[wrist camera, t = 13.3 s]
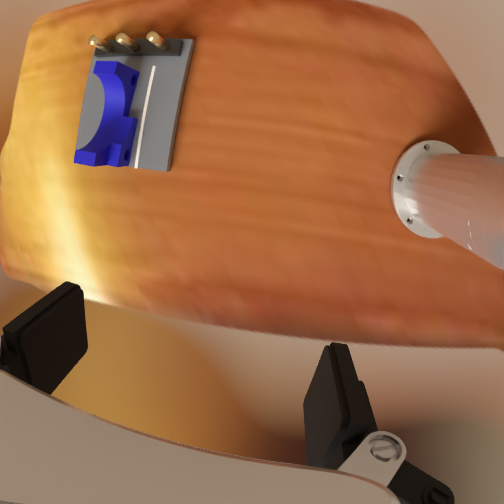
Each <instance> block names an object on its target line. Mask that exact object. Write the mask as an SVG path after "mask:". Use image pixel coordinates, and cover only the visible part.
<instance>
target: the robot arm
mask: <svg viewBox="0 0 504 504" xmlns="http://www.w3.org/2000/svg"><path fill="white" fill-rule="evenodd" d="M424 146H425V149H424ZM397 176H399V179H397ZM391 199H392V203H393V207H394V209H395V211H396V214H397V216H398V217H399V219H400V220H401V222H402V223H403V224H404V225H405V226H406V227H407V228H408V229H409V230H411V231H412V232H414V233H416V234H417V235H419V236H422V237H426V238H440V237H444V236H445V237H447V238H449V239H451V240H452V241H454V242H456V243H457V244H459V245H461V246H462V247H464V248H466V249H467V250H469V251H471V252H472V253H474V254H476V255H477V256H479V257H480V258H482V259H484V260H485V261H487V262H489V263H490V264H492V265H494V266H495V267H497V268H500V269H502V270H504V157H497V156H486V155H473V154H461V153H460V152H459V151H458V150H456V149H455V148H454V147H453V146H451V145H449V144H447V143H445V142H442V141H438V140H426V141H421V142H418V143H416V144H414V145H412V146H411V147H409V148H408V149H407V150H406V151H405V152H404V153H403V154H402V155H401V157H400V158H399V159H398V161H397V163H396V165H395V168H394V170H393V174H392V178H391ZM408 218H409V220H408V221H407V219H408ZM85 322H86V321H85V309H84V294H83V290H81V288H80V286H79V285H77V284H74V283H71V282H67V281H66V282H64V283H63V284H61V285H60V286H58V287H57V288H56V289H54V290H53V291H51V292H50V293H49V294H47V295H46V296H44V297H43V298H42V299H40V300H39V301H38V302H36V303H35V304H34V305H32V306H31V307H30V308H28V309H27V310H25V311H24V312H23V313H21V314H20V315H19V316H17V317H16V318H15V319H13V320H12V321H11V322H10V323H8V324H7V325H6V326H4V327H3V332H4V334H3V335H2V336H1V335H0V504H454V495H453V492H452V491H451V490H450V488H449V487H447V486H446V485H445V484H443V483H442V482H440V481H438V480H436V479H435V478H433V477H431V476H430V475H428V474H426V473H425V472H423V471H422V470H420V469H418V468H417V467H415V466H414V465H412V464H410V463H409V462H407V461H406V460H404V459H405V456H406V447H405V445H404V443H403V442H402V441H401V439H399V438H398V437H397V436H395V435H394V434H391V433H389V432H385V431H378V429H377V426H376V422H375V419H374V415H373V412H372V408H371V405H370V402H369V398H368V395H367V392H366V389H365V386H364V383H363V382H362V381H359V380H358V377H357V374H356V371H355V367H354V364H353V361H352V358H351V355H350V351H349V348H348V346H347V344H341V343H334V342H332V343H331V344H330V346H328V345H326V346H325V347H324V350H323V352H322V355H321V358H320V360H319V363H318V366H317V368H316V371H315V374H314V376H313V379H312V381H311V384H310V386H309V389H308V391H307V394H306V396H305V399H304V404H303V408H304V423H305V441H306V461H307V466H304V465H297V464H288V463H279V462H273V461H266V460H259V459H253V458H247V457H241V456H236V455H230V454H225V453H220V452H215V451H210V450H206V449H202V448H198V447H193V446H190V445H185V444H182V443H177V442H174V441H171V440H167V439H164V438H160V437H157V436H153V435H150V434H147V433H144V432H141V431H138V430H135V429H132V428H129V427H126V426H123V425H120V424H117V423H115V422H112V421H109V420H107V419H104V418H102V417H99V416H96V415H94V414H92V413H89V412H87V411H84V410H82V409H80V408H77V407H75V406H73V405H71V404H68V403H66V402H64V401H62V400H60V399H57V398H55V397H53V396H51V394H52V392H53V391H54V390H55V389H56V388H57V386H58V385H59V384H60V383H61V382H62V380H63V379H64V378H65V377H66V376H67V374H68V373H69V372H70V371H71V370H72V368H73V367H74V366H75V365H76V364H77V363H78V361H79V360H80V359H81V358H82V357H83V356H84V354H85V353H86V351H87V349H88V341H87V332H86V323H85Z"/></svg>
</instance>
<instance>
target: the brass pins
mask: <svg viewBox="0 0 504 504" xmlns="http://www.w3.org/2000/svg"><path fill="white" fill-rule="evenodd" d="M146 38H147V39H136V40H133V39H131V38H130V37H128V36H127V35H126V34H124V33H119V34H118V35H117V36H116V41H104V40H102V39H100V38H98V37H97V36H95V35H93V36H91V37H90V38H89V39H88V43H89V44H90V45H93V46H95V47H96V49H95V53H94V56H96V57H98V58H101V57H118V56H181V52H182V48H183V44H184V42H183V41H182V40H181V39H163V38H162V37H160V36H159V35H158V34H157V33H156V32H155V31H151V32H149V33H148V34H147V36H146Z"/></svg>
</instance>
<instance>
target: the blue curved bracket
mask: <svg viewBox="0 0 504 504" xmlns="http://www.w3.org/2000/svg"><path fill="white" fill-rule="evenodd" d="M93 73H94V74H95V75H97V76H98V77H99V79H100V80H101V82H102V84H103V88H104V95H105V103H104V111H103V116H102V119H101V122H100V125H99V127H98V130H97V132H96V133H95V135H94V137H93V138H92V140H91V141H90V142H89V143H88V144H87V145H86V146H84V147H83V148H81V149H78V150H76V151H75V157H74V163H78V164H83V165H88V166H103V165H110V166H115V167H122V166H129V161H130V156H131V151H132V146H133V141H134V136H135V132H136V127H137V123H138V119H137V118H132V117H128V116H129V111H130V107H131V103H132V99H133V95H134V92H135V88H136V84H137V80H138V77H139V73H140V72H138V71H136V70H134V69H132V68H130V67H128V66H126V65H124V64H122V63H120V62H118V61H96V63H95V67H94V70H93Z"/></svg>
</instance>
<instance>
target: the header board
mask: <svg viewBox="0 0 504 504" xmlns="http://www.w3.org/2000/svg"><path fill="white" fill-rule="evenodd" d="M163 39H170V38H163ZM133 40H136V39H133ZM181 40H182V41H183V42H184V44H183V48H182V52H181V56H118V57H101V58H98V57H96V56H94V54H93V58H92V62H91V66H90V70H89V75H88V79H87V84H86V89H85V94H84V99H83V104H82V110H81V116H80V122H79V129H78V136H77V143H76V150H78V149H81V148H83V147H84V146H86V145H87V144H88V143H89V142H90V141H91V140H92V138H93V137H94V135H95V133H96V132H97V130H98V127H99V125H100V122H101V119H102V116H103V111H104V103H105V95H104V88H103V84H102V82H101V80H100V79H99V77H98V76H97V75H95V74H94V73H93V70H94V67H95V63H96V61H118V62H120V63H122V64H124V65H126V66H128V67H130V68H132V69H134V70H136V71H138V72H140V73H139V77H138V80H137V84H136V88H135V92H134V95H133V99H132V103H131V107H130V111H129V116H128V117H132V118H137V119H138V123H137V127H136V132H135V136H134V141H133V146H132V151H131V156H130V161H129V166H128V167H135V168H137V169H138V168H143V169H151V170H158V171H165V172H168V171H170V166H171V159H172V153H173V146H174V140H175V135H176V129H177V123H178V118H179V113H180V107H181V102H182V97H183V92H184V88H185V83H186V78H187V74H188V69H189V65H190V60H191V56H192V52H193V48H194V44H195V42H194V40H193V39H181ZM112 41H116V40H112ZM95 49H96V47H95ZM94 53H95V50H94Z"/></svg>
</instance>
